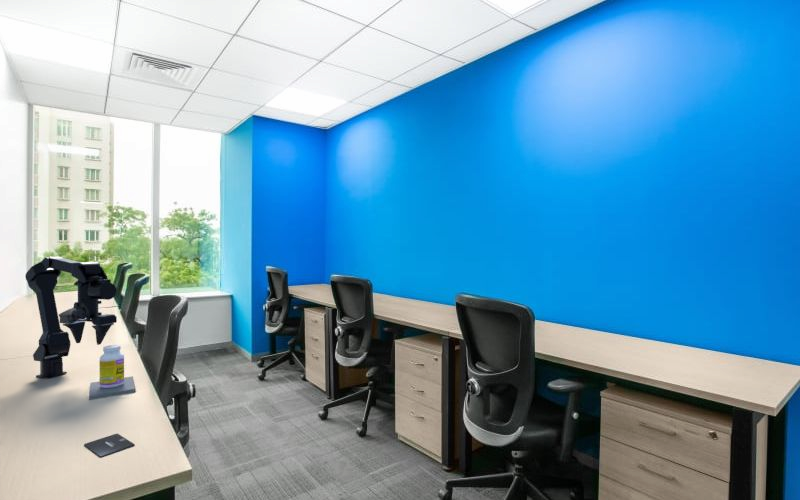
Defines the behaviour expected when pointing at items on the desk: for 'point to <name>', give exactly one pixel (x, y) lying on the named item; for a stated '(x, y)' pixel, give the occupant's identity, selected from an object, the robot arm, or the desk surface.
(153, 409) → the desk surface
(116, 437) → the solid state drive
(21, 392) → the desk surface
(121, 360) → the supplement bottle
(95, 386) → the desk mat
